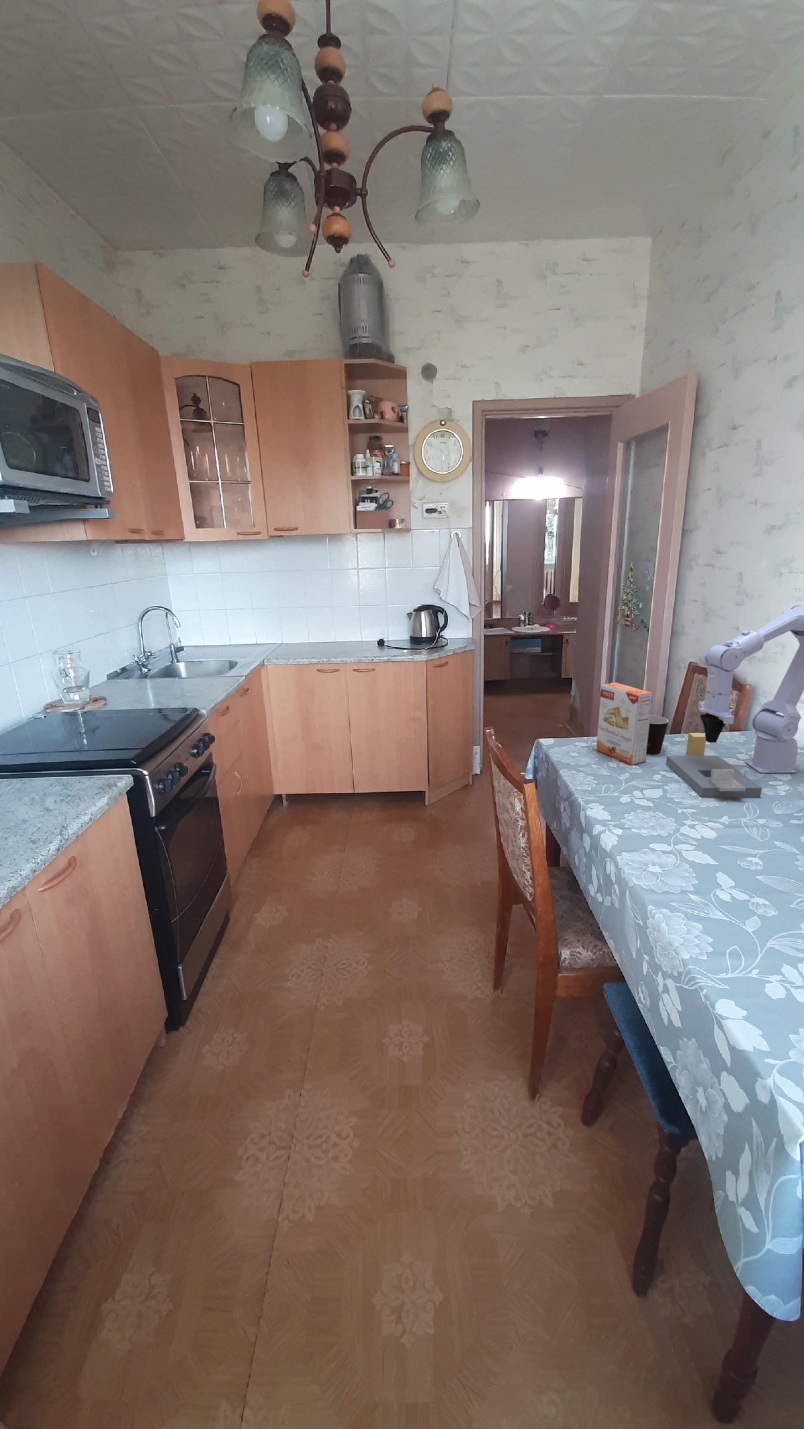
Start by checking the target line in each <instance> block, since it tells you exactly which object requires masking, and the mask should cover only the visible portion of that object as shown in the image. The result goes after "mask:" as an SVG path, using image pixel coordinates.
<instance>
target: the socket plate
mask: <svg viewBox="0 0 804 1429" xmlns="http://www.w3.org/2000/svg"><path fill="white" fill-rule="evenodd" d="M665 763H666V764H665V765H667V766H668V767H669V768H670V769H671V770H672V771H673V772H674V773H675V774H676V775H677V776H678V777H679V778H681V780H682V781H683V782H685V784H687V786H689V787H690V788H691V789H692V790H693V791H694V792H695V793H696V794H698V796H700V797H701V798H761V795H762V790H763V789H762V788H763V787H762V786H760V785H758V784H757V783H756V782H754V781H753V780H751V779H750V778H749V777H747V775H745V774H744V773H742V772H741V771H740V770H738V768H735V766H733V765H731V764H730V763H729V762H728V761H727V760H725V759H723V758H722V757H721V756H719V755H704V756H686V755H666V762H665ZM712 769H733V770H734V776H733V779H735V780H736V781H737V782H739V783H740V784H741V785H742V786H744V787H745V788H746V789H745V791H719V790H718V789H717V788H715V787H714V786H713V785H712V784H711V783H710V782H708V778H710V777H711V771H712Z"/></svg>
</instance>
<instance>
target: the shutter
mask: <svg viewBox="0 0 804 1429" xmlns="http://www.w3.org/2000/svg"><path fill="white" fill-rule="evenodd" d="M733 776H734V770H733V769H712V771H711V777H710V778H708V782H710V783H711V784H712V785H713V786H714V787H715V788H717V789H718V790H719V791H745V789H746V788H745V787H744V786H742V785H741V784H740V783H739V782H737V781H736V780H735V779H733Z"/></svg>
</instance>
